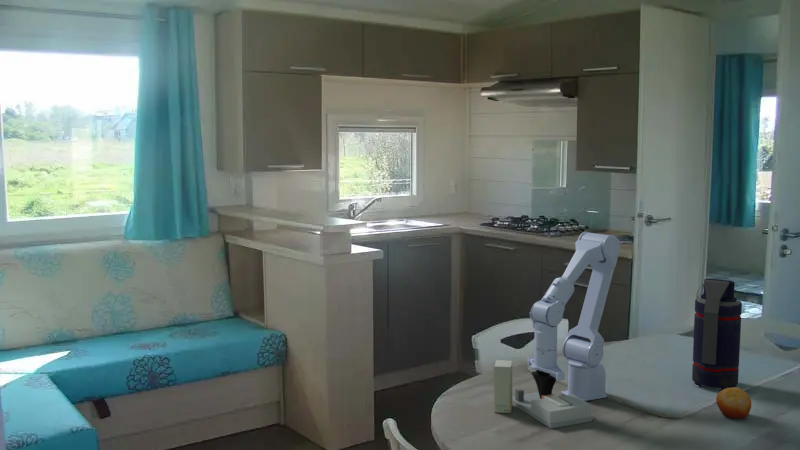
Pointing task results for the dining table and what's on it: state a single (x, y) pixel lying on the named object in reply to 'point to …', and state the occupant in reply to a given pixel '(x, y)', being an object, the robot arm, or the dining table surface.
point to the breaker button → (556, 400)
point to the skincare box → (503, 386)
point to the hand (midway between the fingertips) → (544, 399)
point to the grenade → (716, 335)
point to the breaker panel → (553, 409)
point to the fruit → (734, 402)
